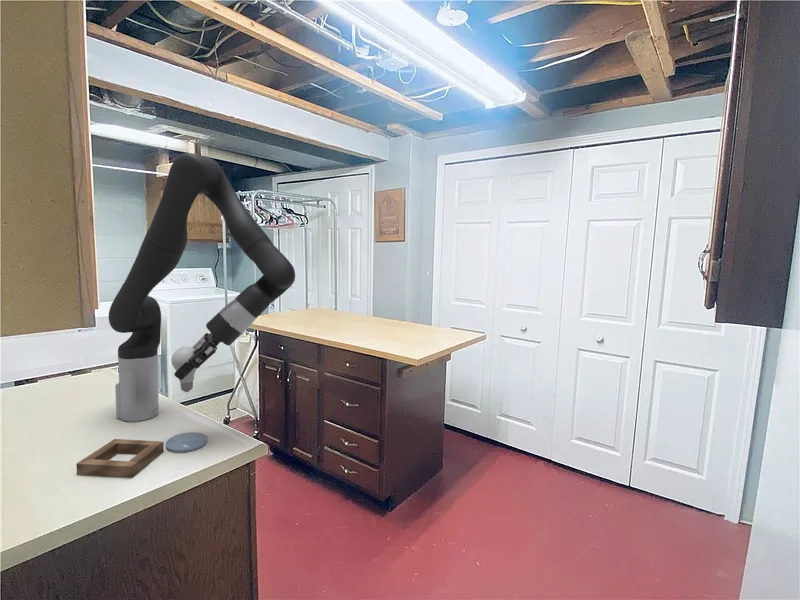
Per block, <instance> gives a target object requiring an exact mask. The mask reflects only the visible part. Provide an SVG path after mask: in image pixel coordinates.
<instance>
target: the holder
mask: <svg viewBox="0 0 800 600" xmlns="http://www.w3.org/2000/svg"><path fill="white" fill-rule="evenodd" d="M164 449H165V447H164V441H160V440H139V439H123V438H114V439H112V440H111V441H109V442H108V443H106V444H104V445H103V446H102V447H99V448H98V449H97V450H95V451H93V452H92V453H91V454H89V455H87V456H86V457H84V458H83V459H80V460H79V461H78V462H76V475H77V476H84V477H85V476H90V477H102V478H103V477H105V478H106V477H107V478H122V479H124V478H127V479H133V478H134V477H135V476H136V475H138V474H139V473H140V472H141V471H142V470H144V469H145V468H146V467H147V466H149V465H150V464H151V463H152V462H154V460H156V459H157V458H158V457H159V456H161V455H162V454H164V452H165V450H164ZM118 454H119V455H133V456H134V455H135V456H134V457H131V459H130V460H115V459H114V460H111V459H112V458H113V457H115V456H116V455H118Z"/></svg>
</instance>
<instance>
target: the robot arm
mask: <svg viewBox="0 0 800 600" xmlns="http://www.w3.org/2000/svg"><path fill="white" fill-rule="evenodd" d="M162 191H163V192H162V195H161V198H160V201H159V204H158V206H157V208H156V211H155V213H154V215H153V218H152V221H151V222H150V225H149V227H148V229H147V231H146V233H145V236H144V238H143V240H142V242H141V244H140V247H139V249H138V253H137V255H136V258H135V260H134V261H133V263H132V266H131V268H130V270H129V273H128V275H127V276H126V278H125V280H124V282H123V284H122V285H121V287H120V289H119V291H118V292H117V293H116V295H115V297H114V299H113V301H112V303H111V305H110V307H109V310H108V322H109V325H110V327H111V329H112V330H114V331H115V332H118V333H120V334H123V333H124V334H125V333H126V334H127V333H131V335H130V337H129V338H128V339H127V340H126V341H124V342H123V343H121V344H120V345H119V346H118V349H117V359H118V360H117V362H118V363H117V365H118V383H116V384H115V387H114V388H115V389H114V390H115V416H116V419H118V420H121V421H124V422H142V421H147V420H150V419H153V418H155V417H157V416H158V414H159V413H160V411H159V410H160V405H159V400H160V399H159V397H160V396H159V364H158V363H159V356H158V355H159V354H158V350H159V347H160V343H161V336H162V333H161V332H162V330H161V329H162V311H161V307H160V304H159V302H158V301H157V300H156V299H155V298H154V297H152V296H149V295H150V293H151V292H152V290H153V289H154V288H155V287H156V286H157V285H159V284H160V283H161V282H162V281H163V280H164V279H165V278H166V277H167V276H169V275H171V273H172V271H173V270H174V269H175V268H176V267H177V266H178V264H179V262H180V260H181V258H182V256H183V254H184V251H185V250H186V246H187V242H188V218H189V217H188V216H189V214H190V213H189V212H190V210H191V208H192V207H193V204H194V202H195V200H196V198H197V197H198V195H199V194H200V195H201V194H203V195H204V196H205V197H207V198H208V199H209V200H210V201H211V202H212V203H213V204H214V205H215V207H216V208H217V209H218V210H219V212H220V213H221V215H222V217H223V220H224V222H225V225H226V227H227V230H228V231H229V233H230V236H231V237H232V239H233V240H234V242H235V243H236V244H237V245H238V247H239V248H240V249H241V250H242V252H243V253H244V255H246V256H247V257H248V259H250V260H251V261H252V262H253V263H254V264H255V266H257V268H258V270H259V272H260V273H261V274H262V276H261V277H260V278H258V280H256V282H254V283H253V284H250V285H248V286H247V287H246V288H244V289H243V290H242V291H241V292H240V293H239V294H238V295H237V296H236V297H235V298H234V299H233V300H231V301H229V302H228V303H227V304H225V306H223V308H221V310H219V312H217V314H215V315H213V317H211V319H210V320H209V321H208V322H206V324H205V327H206V329H207V330H208V331H209V332H210V333H208V332H207V333H204V335H203V336H201V337H200V339H199V340H198V341H196V343H194V344H193V346H191V347H192V348H194V350H193V351H192V356H191V357H190V358H189V359H188V360H187V361H186V362H185V363H184V364H183V365H182V366H181V367H180V368H179V369H178V370H177V371H176V370H175V372H174V373H173V374H174V376H175V378H177V380H179V379H180V380H182V379H183V378H184V377H185V376H187V375H188V374H189V373H190V372H191V371H192V370H193V369H195V368H196V370H197V369H199V368H200V367H201V366H202V365H203V364H204V363H205V362H206V361H207V360H208V359H210V357H212V356H213V355H215V353H216V352H217V350H218V346H219V344H220V343H223V344H224V345H225V346H231V345H232V344H233V343H234V342H235V341H236V340H237V339H238V338H239V337H240V336H241V335H243V334H244V332H246V331H247V330H248V329H249V328H250V327H251V326H252V324H253V323H254V322H255V320H256V319H257V318H258V317H259V316H260V315H261V314H262V313H264V312H265V311H266V309H268V308H269V306H270V305H271V304H272V303H273V302H274V301H276V300H277V299H278V298H279V297H280V296H282V295H283V294H285V292H286V291H287V290H289V288H291V287H292V286H293V285H294V283H295V281H296V271H295V268H294V265H293V264H292V263H291V261H290V260H289V259H288V258H287V257H286V256H285V254H283V253H282V252H281V251H280V250H279V249H278V247H276V246H275V245H274V242H273V241H272V239H270V237H269V236H268V235H267V233H266V232H265V231H264V230H263V228H262V227H261V226H260V225H259V223H257V221H256V219H254V217H253V216H252V214H250V212H249V211H248V210H247V207H246V206H245V205H244V204H243V202H242V201H241V199H240V198H239V196H238V194H237V193H236V191H235V190H234V188H233V186H232V184H231V182H230V181H229V179H228V177H227V175H226V174H225V172H224V171H223V169H222V167H221V165H220V164H219V163H218V162H217V161H216V160H215V159H213V158H211V157H209V156H206V155H201V154H197V153H192V152H183V153H181V154H179V155H178V156H177V157H176V158H175V159H174V160H173V162H172V164H171V165H170V169H169V171H168V174H167V177H166V181H165V183H164V189H163V190H162ZM195 358H198V359H199V361H198V362H196V361H195V360H194V359H195Z"/></svg>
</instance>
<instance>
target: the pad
mask: <svg viewBox="0 0 800 600" xmlns="http://www.w3.org/2000/svg"><path fill="white" fill-rule="evenodd" d="M207 443H208V436H207V434H205V433H202V432H197V431H196V432H195V431H190V432H184V433H179V434H175V435H173V436H171V437H170V438H168V439H167V440H166V441H165V449H166V451H168V452H170V453H173V454H174V453H175V454H186V453H192V452H195V451H198V450H200V449H203V448H204V447H205V446H206V445H207Z"/></svg>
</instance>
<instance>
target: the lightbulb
mask: <svg viewBox="0 0 800 600" xmlns="http://www.w3.org/2000/svg"><path fill="white" fill-rule="evenodd" d="M192 347H193V346H181V347H180V348H178V349H176V350H175V351H174V352H173V354H172V356H171V364H172V365H171V366H172V367H173V368H174V371H175V372H176V371H177V370H178V369H179V368H180V367H181V366H182V365H183V364H184V363H185V362H186V361H187V360H188V359H189V358H190V357H191V356H192V351H193V350H194V348H192ZM194 360H195V361H196V362H198V361H199V359H198V358H195V359H194ZM196 371H197V369H196V368H195V369H193V370H192V371H191V372H190V373H189V374H188V375H187V376H185V377H184V378H183V379H182V380H180V379H178V380H179V382H180V383H179V384H180V390H181V391H182V392H184V393H188V392H190V391H192V389H194V388H193V387H194V379H195V374H196Z"/></svg>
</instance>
